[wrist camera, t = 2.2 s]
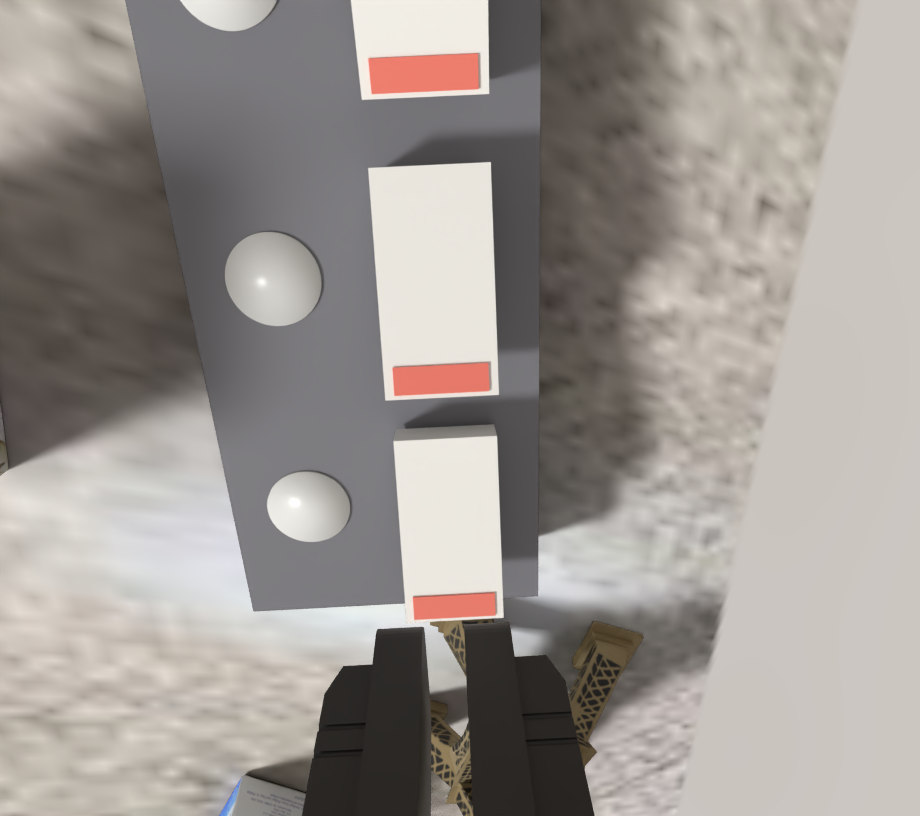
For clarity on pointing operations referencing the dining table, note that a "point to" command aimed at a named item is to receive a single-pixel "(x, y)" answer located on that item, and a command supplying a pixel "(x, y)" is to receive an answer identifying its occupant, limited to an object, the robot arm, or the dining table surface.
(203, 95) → the switch panel
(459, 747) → the eiffel tower
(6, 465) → the coffee box
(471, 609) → the block
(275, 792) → the medicine box
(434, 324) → the block
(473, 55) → the rocker
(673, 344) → the dining table surface
